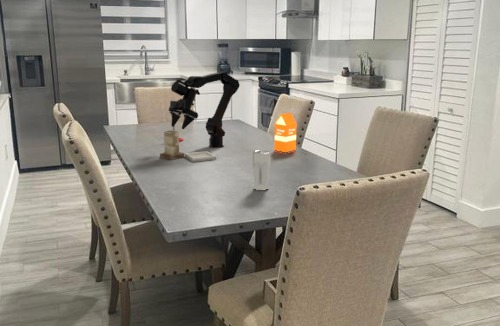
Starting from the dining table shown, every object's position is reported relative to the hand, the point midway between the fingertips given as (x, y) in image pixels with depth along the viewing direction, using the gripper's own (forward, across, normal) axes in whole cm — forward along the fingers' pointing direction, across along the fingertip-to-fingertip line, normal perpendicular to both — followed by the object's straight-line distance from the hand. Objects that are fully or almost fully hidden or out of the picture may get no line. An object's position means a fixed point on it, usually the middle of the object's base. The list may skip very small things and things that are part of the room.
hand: (177, 127), depth 247 cm
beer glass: (+17, +73, -3) cm, 75 cm away
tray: (+11, +16, +8) cm, 21 cm away
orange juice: (-9, +32, +48) cm, 58 cm away
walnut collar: (+15, +6, -1) cm, 16 cm away
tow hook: (+4, -28, +22) cm, 36 cm away
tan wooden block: (+15, +6, 0) cm, 16 cm away
